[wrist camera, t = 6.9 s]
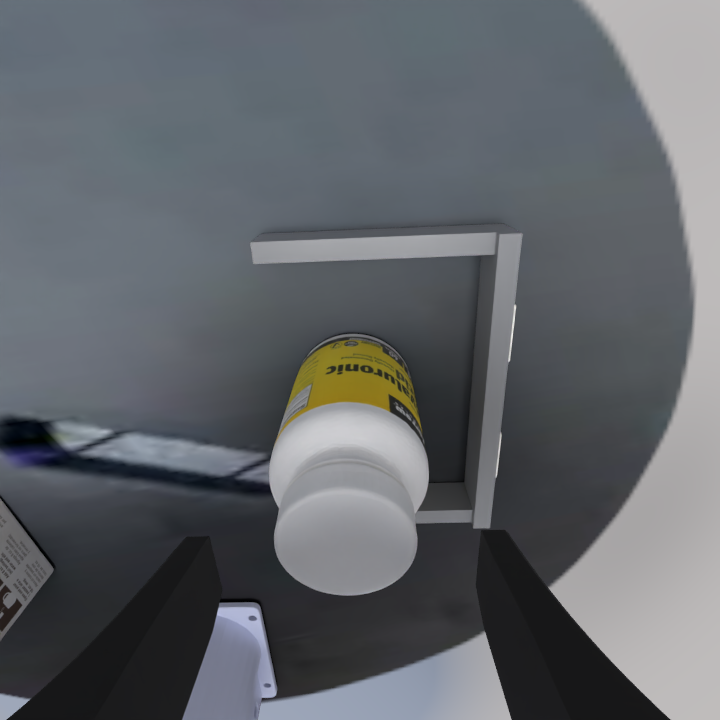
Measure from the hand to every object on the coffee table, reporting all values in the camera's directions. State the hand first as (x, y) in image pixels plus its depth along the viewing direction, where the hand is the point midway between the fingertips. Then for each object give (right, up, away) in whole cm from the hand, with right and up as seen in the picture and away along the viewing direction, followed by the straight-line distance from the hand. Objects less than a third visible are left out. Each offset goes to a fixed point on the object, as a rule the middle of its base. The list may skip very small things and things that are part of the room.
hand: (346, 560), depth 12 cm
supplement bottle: (0, +4, +9) cm, 10 cm away
